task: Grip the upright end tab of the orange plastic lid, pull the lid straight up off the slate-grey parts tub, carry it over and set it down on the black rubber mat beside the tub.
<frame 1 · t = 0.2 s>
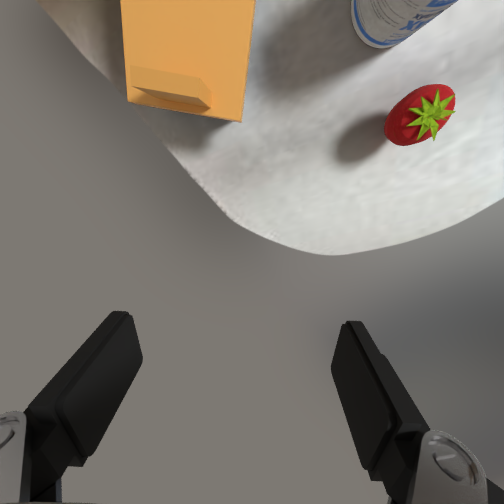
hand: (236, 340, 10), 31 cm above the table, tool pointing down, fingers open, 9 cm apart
supplement tub: (387, 0, 27), on the table
lid: (189, 23, 23), point 7 cm above the table, touching parts tub
strawberry: (393, 121, 33), on the table
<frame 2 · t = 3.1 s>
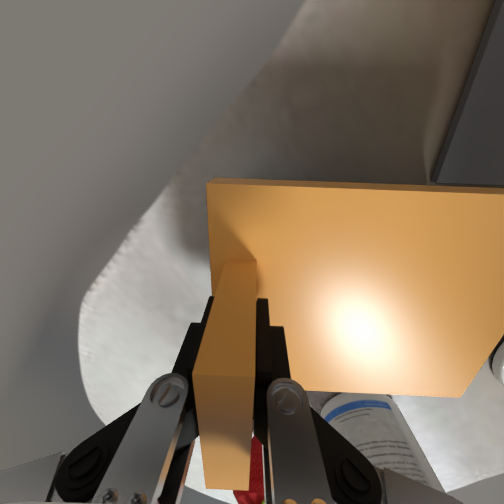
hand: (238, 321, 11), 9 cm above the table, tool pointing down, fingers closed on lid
supplement tub: (356, 407, 29), on the table
lid: (354, 302, 13), point 7 cm above the table, touching gripper, parts tub
strawberry: (260, 430, 31), on the table
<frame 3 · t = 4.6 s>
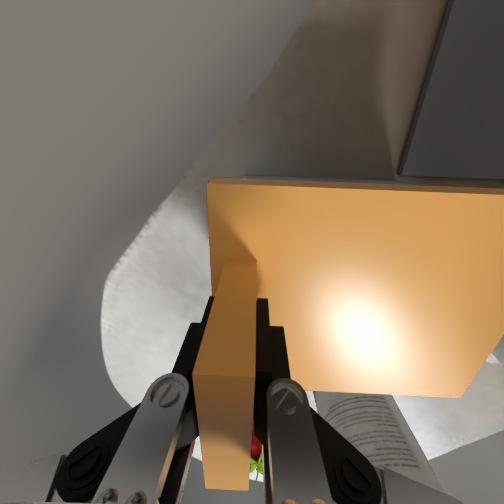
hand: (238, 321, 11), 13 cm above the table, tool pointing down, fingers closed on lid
supplement tub: (344, 377, 32), on the table
lid: (354, 303, 13), point 11 cm above the table, touching gripper
parts tub: (311, 233, 23), on the table
strawberry: (259, 399, 35), on the table
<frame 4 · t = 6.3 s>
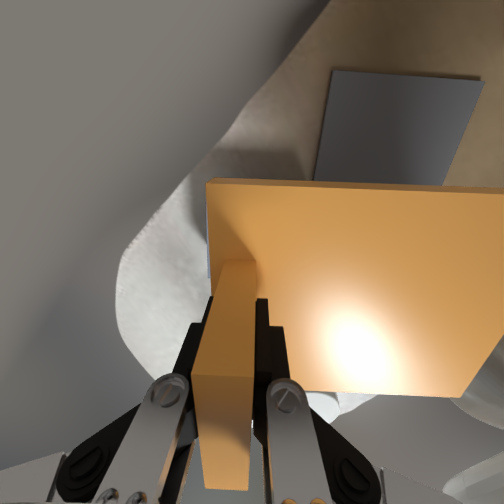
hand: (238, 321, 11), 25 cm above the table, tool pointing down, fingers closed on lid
supplement tub: (291, 332, 45), on the table
mat: (387, 142, 30), on the table
lid: (354, 302, 13), point 23 cm above the table, touching gripper
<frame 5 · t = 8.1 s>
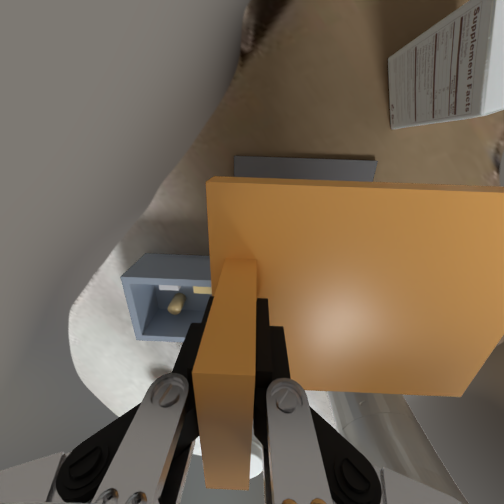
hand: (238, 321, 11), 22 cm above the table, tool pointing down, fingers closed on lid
supplement tub: (239, 374, 47), on the table
supplement box: (419, 85, 25), on the table
mat: (298, 211, 32), on the table
lid: (354, 302, 13), point 21 cm above the table, touching gripper
parts tub: (192, 284, 37), on the table
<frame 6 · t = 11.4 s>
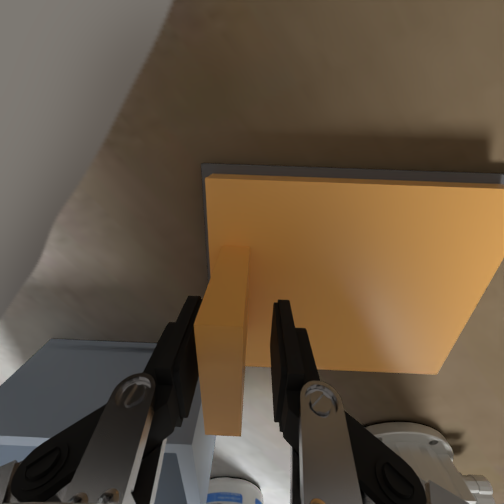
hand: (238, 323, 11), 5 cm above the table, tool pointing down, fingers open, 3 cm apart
supplement tub: (229, 488, 31), on the table
mat: (336, 274, 16), on the table
lid: (338, 286, 14), point 2 cm above the table, touching mat
parts tub: (143, 384, 21), on the table
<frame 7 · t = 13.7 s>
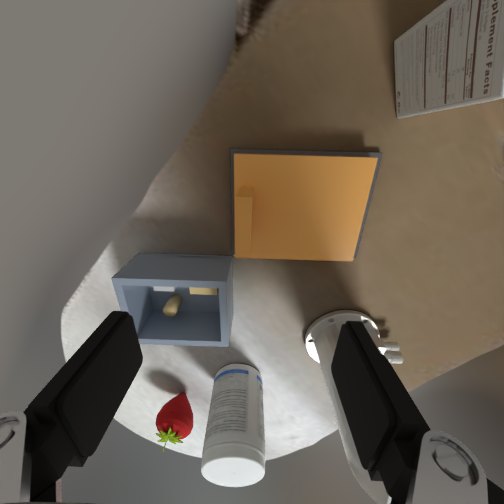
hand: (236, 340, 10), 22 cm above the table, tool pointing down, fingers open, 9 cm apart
supplement tub: (239, 376, 45), on the table
supplement box: (427, 70, 24), on the table
mat: (298, 207, 30), on the table
lid: (297, 210, 29), point 2 cm above the table, touching mat
parts tub: (189, 285, 36), on the table
strawberry: (183, 392, 48), on the table
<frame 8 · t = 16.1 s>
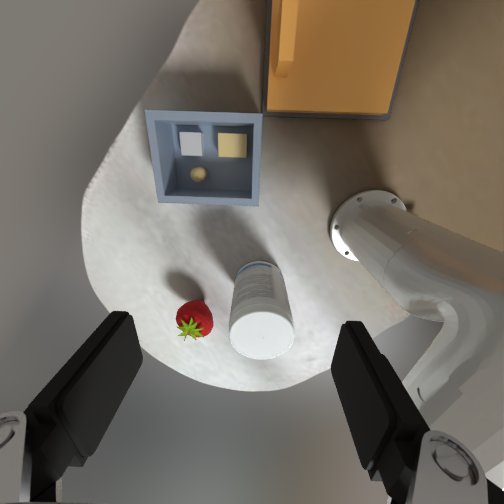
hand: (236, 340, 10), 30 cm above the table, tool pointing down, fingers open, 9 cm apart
supplement tub: (259, 279, 45), on the table
mat: (333, 56, 29), on the table
lid: (333, 51, 28), point 2 cm above the table, touching mat
parts tub: (215, 159, 35), on the table
strawberry: (201, 301, 47), on the table
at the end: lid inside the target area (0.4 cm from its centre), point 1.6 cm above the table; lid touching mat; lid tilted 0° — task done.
